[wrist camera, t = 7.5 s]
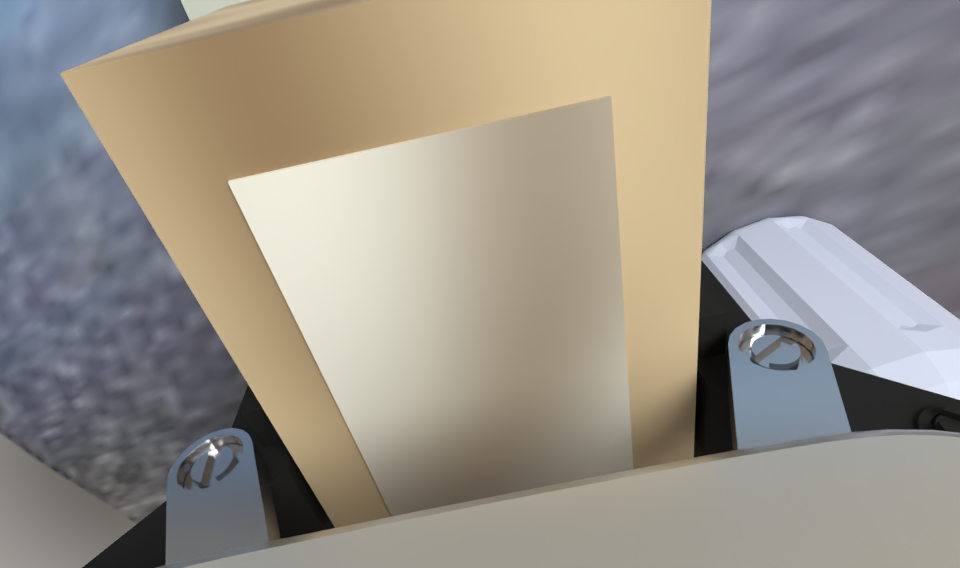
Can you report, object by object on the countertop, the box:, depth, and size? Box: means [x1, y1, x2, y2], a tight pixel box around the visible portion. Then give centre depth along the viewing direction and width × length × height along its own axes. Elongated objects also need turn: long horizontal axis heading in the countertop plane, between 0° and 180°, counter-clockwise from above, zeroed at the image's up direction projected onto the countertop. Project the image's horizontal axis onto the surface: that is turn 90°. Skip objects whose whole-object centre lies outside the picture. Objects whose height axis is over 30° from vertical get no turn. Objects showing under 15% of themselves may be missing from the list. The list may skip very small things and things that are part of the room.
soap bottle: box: [701, 216, 960, 400], centre depth 17 cm, size 9×9×25 cm
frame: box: [60, 0, 711, 528], centre depth 10 cm, size 6×13×5 cm, turn 11°
